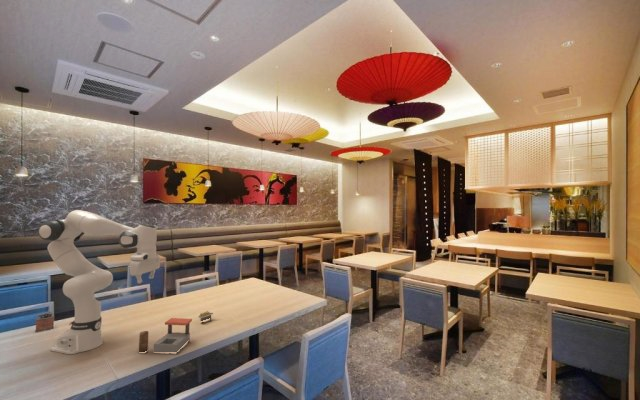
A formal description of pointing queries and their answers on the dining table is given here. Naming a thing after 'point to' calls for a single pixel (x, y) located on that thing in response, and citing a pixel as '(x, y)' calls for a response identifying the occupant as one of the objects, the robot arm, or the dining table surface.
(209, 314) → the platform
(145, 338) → the walnut peg
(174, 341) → the socket stand
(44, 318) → the brick wall piece
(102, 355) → the dining table surface
